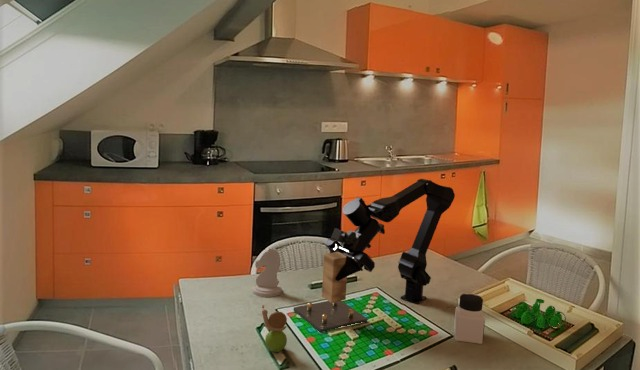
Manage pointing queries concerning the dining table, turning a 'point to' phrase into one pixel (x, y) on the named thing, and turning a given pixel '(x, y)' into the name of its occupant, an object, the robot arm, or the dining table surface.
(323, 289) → the wood block
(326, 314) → the standoff plate
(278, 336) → the snail figurine
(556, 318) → the green bumpy clump
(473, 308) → the medicine bottle
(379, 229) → the robot arm
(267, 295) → the chess piece
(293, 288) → the dining table surface
